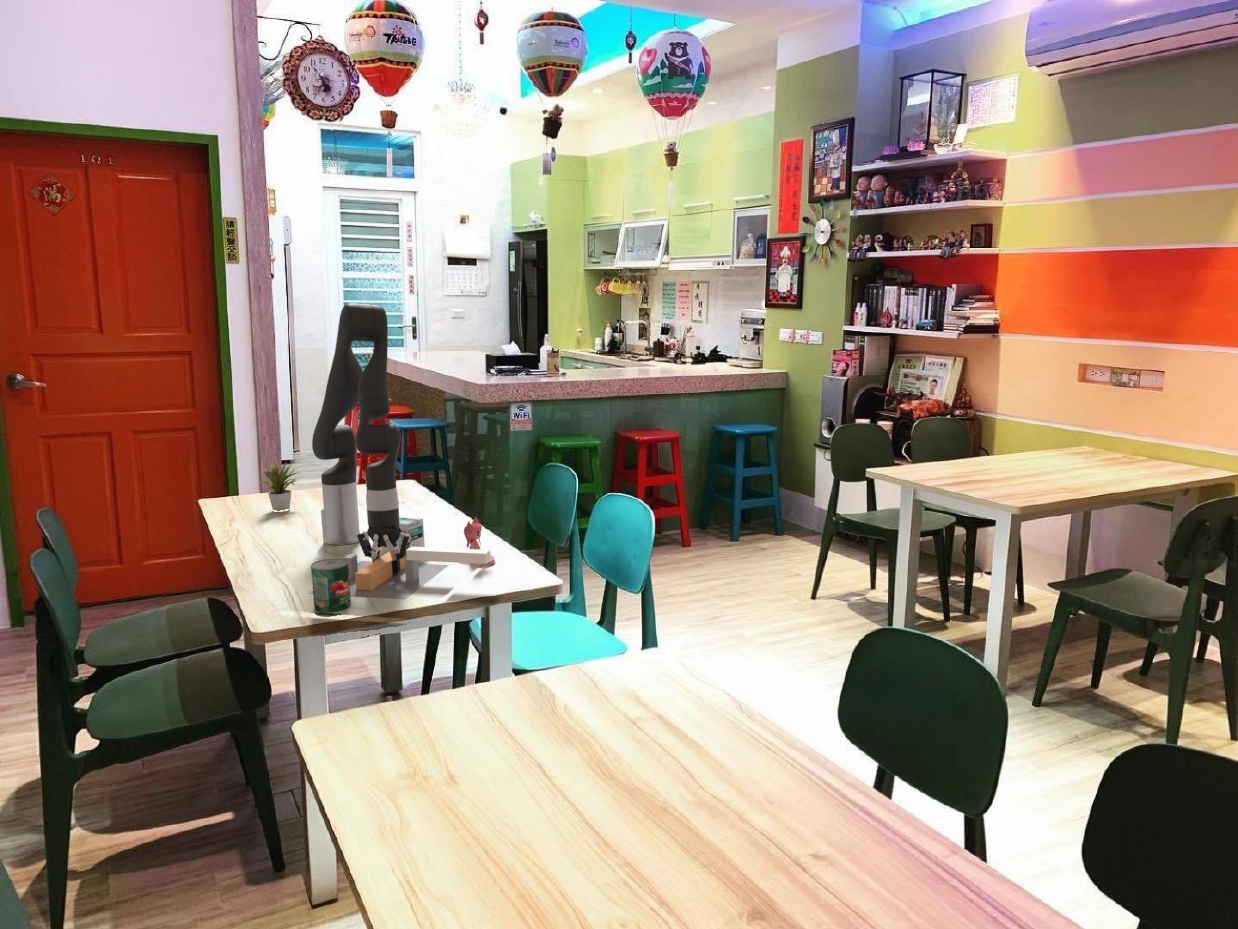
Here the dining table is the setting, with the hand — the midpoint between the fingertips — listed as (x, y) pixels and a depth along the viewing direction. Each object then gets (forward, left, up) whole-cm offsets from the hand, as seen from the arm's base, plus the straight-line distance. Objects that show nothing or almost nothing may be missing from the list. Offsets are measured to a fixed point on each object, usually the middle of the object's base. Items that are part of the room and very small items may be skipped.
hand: (387, 573), depth 221 cm
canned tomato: (-2, -23, -2) cm, 23 cm away
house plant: (-66, +60, -2) cm, 89 cm away
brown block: (0, -3, 0) cm, 3 cm away
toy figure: (+17, +16, -2) cm, 23 cm away
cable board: (0, -3, -1) cm, 3 cm away
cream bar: (+18, -3, +5) cm, 19 cm away
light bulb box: (-4, +17, -2) cm, 17 cm away
